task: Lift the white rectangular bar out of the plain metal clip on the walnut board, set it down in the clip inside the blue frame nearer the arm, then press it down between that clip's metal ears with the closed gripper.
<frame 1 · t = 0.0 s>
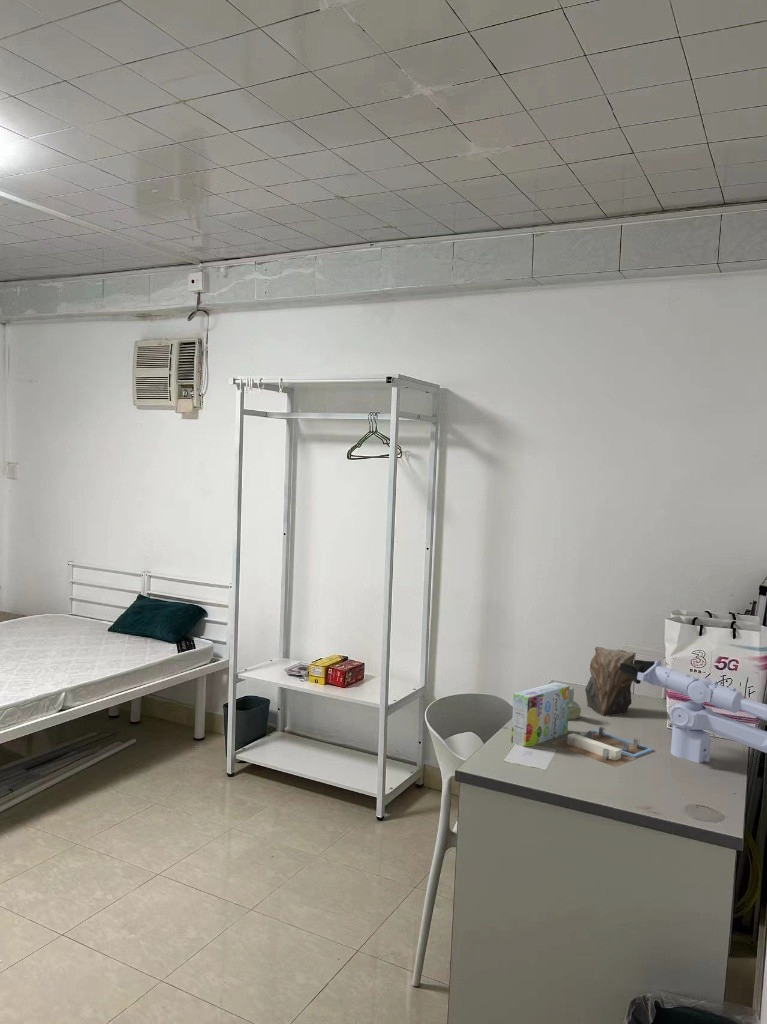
hand: (627, 664, 221), 22 cm above the table, tool horizontal, fingers open, 7 cm apart
blue bezel: (613, 742, 213), on the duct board, point 1 cm above the table
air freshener: (562, 719, 238), on the table
snack box: (539, 741, 215), on the table
brown rock: (605, 711, 249), on the table
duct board: (603, 750, 210), on the table
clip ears: (603, 742, 210), on the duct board, point 2 cm above the table
white rectangular bar: (593, 750, 206), point 1 cm above the table, touching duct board
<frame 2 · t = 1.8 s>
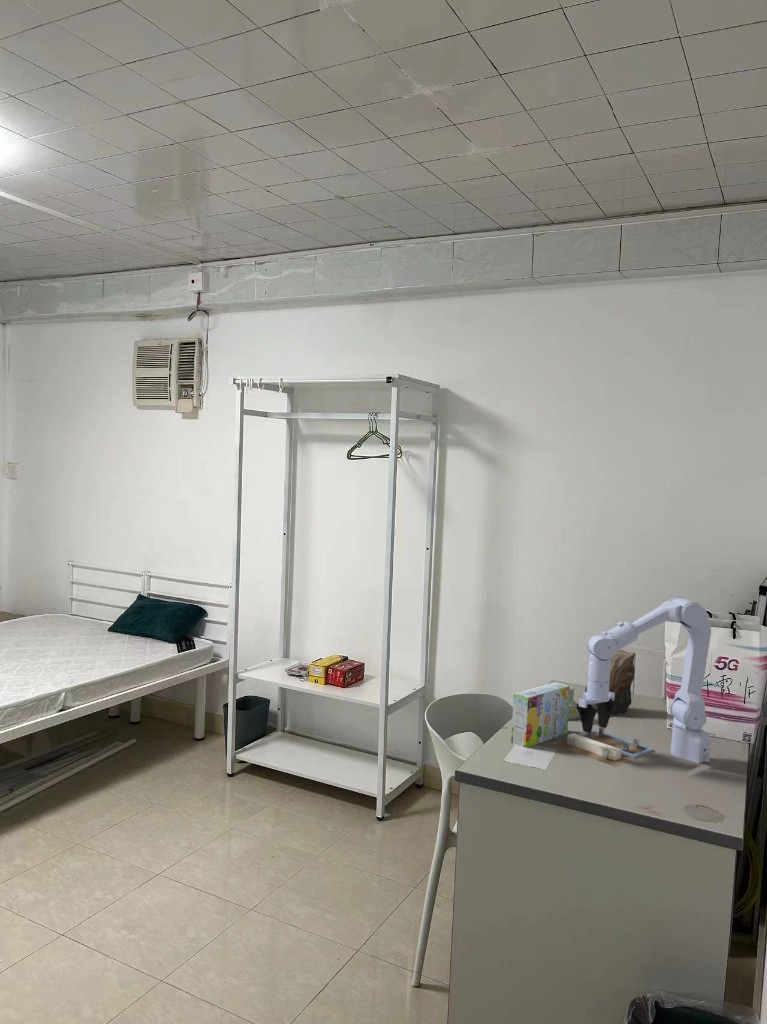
hand: (594, 729, 206), 7 cm above the table, tool pointing down, fingers open, 7 cm apart
nothing on the table moved.
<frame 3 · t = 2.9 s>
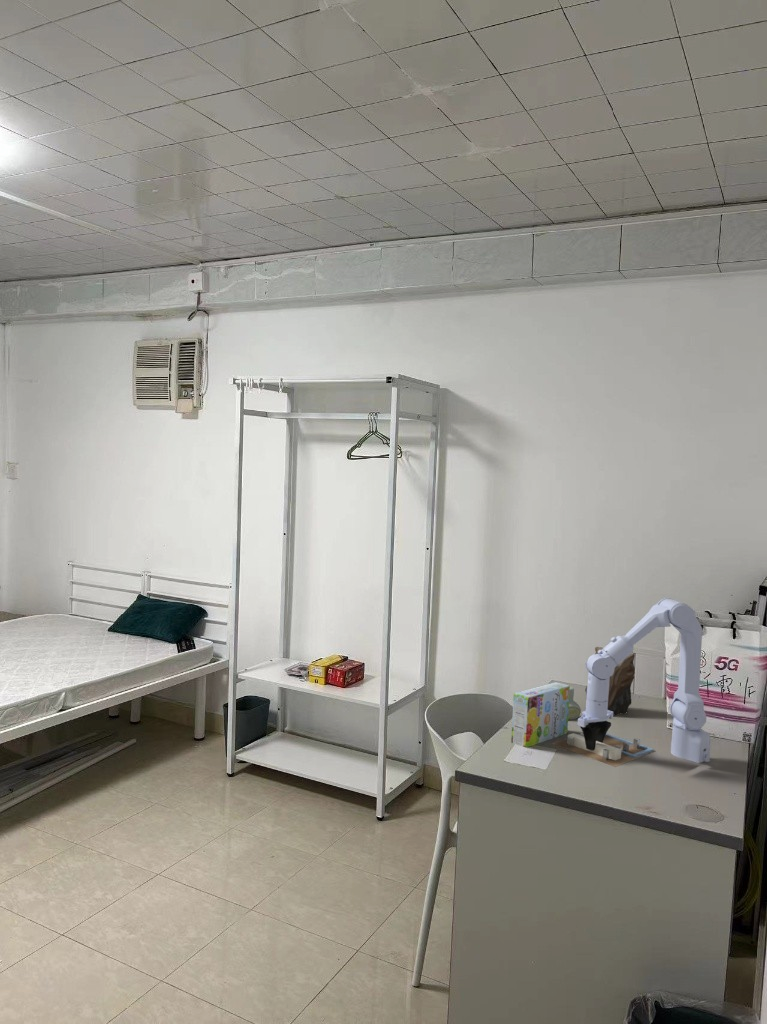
hand: (593, 748, 206), 2 cm above the table, tool pointing down, fingers closed on white rectangular bar, 3 cm apart
white rectangular bar: (593, 750, 206), point 1 cm above the table, touching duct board, gripper
everything else where it was.
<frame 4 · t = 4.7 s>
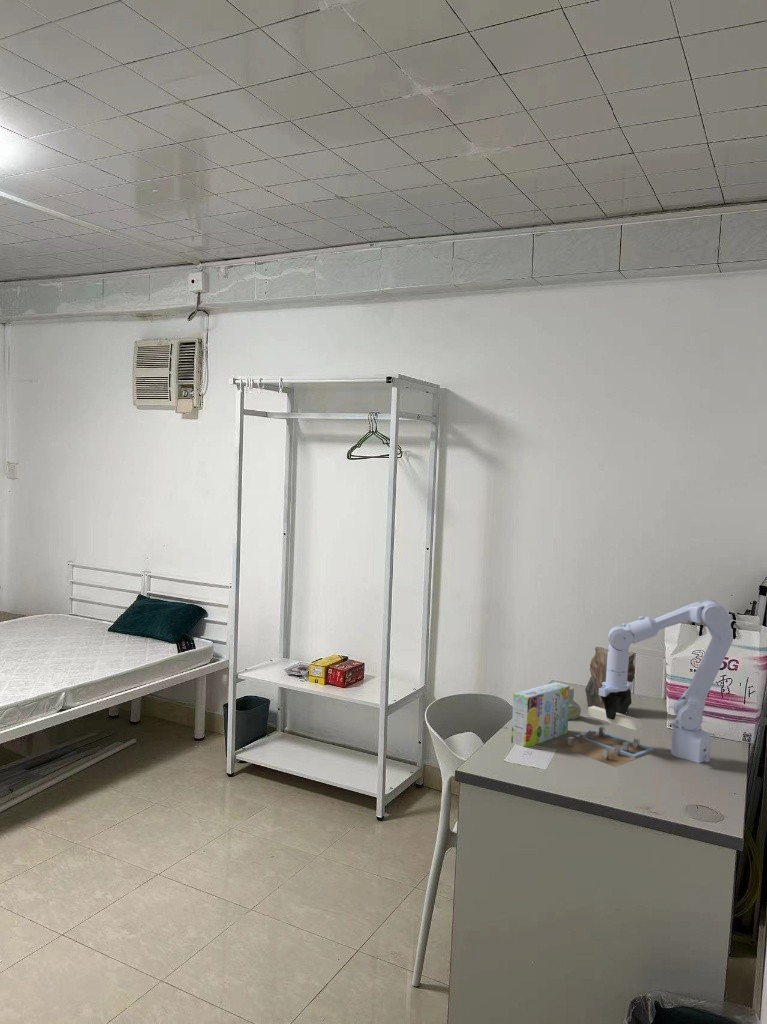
hand: (613, 717, 212), 9 cm above the table, tool pointing down, fingers closed on white rectangular bar, 3 cm apart
white rectangular bar: (613, 721, 212), point 7 cm above the table, touching gripper
everything else where it was.
when the fingers open (2 cm above the table, at t = 6.3 s): white rectangular bar stays where it is, resting on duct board.
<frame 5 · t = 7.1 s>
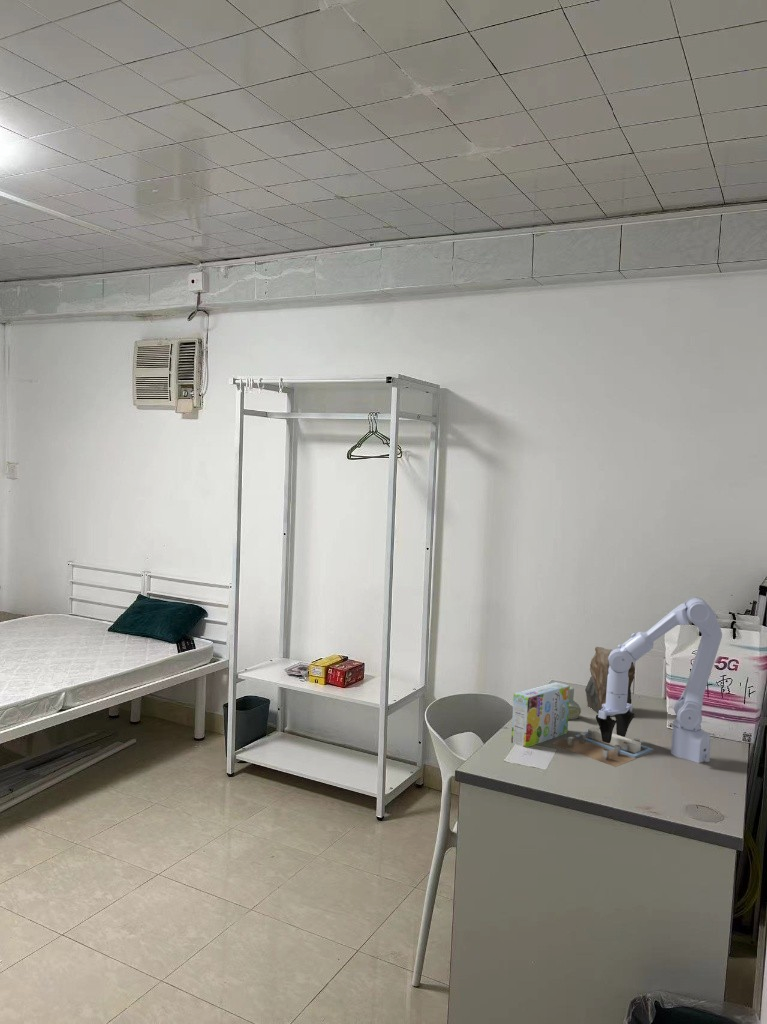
hand: (613, 739, 213), 2 cm above the table, tool pointing down, fingers open, 7 cm apart
white rectangular bar: (613, 743, 213), point 1 cm above the table, touching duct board
everything else where it was.
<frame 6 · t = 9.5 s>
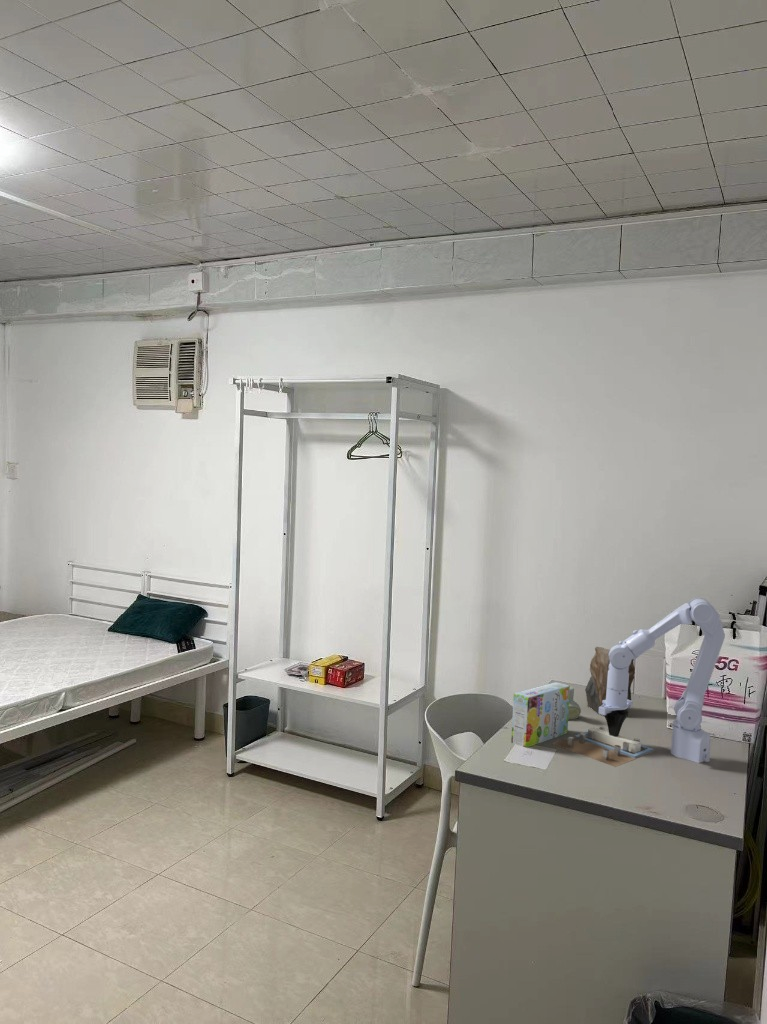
hand: (613, 735, 213), 3 cm above the table, tool pointing down, fingers closed, pressing on white rectangular bar
white rectangular bar: (613, 743, 213), point 1 cm above the table, touching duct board, gripper
everything else where it was.
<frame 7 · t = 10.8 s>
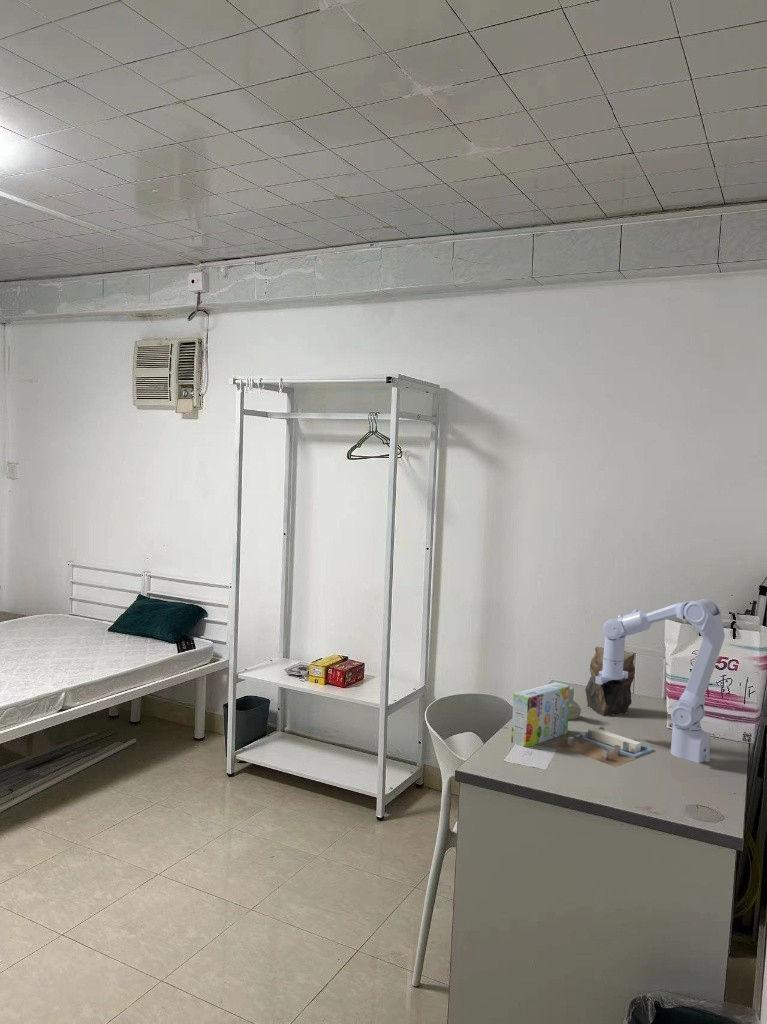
hand: (609, 705, 222), 9 cm above the table, tool pointing down, fingers closed
white rectangular bar: (613, 743, 213), point 1 cm above the table, touching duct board
everything else where it was.
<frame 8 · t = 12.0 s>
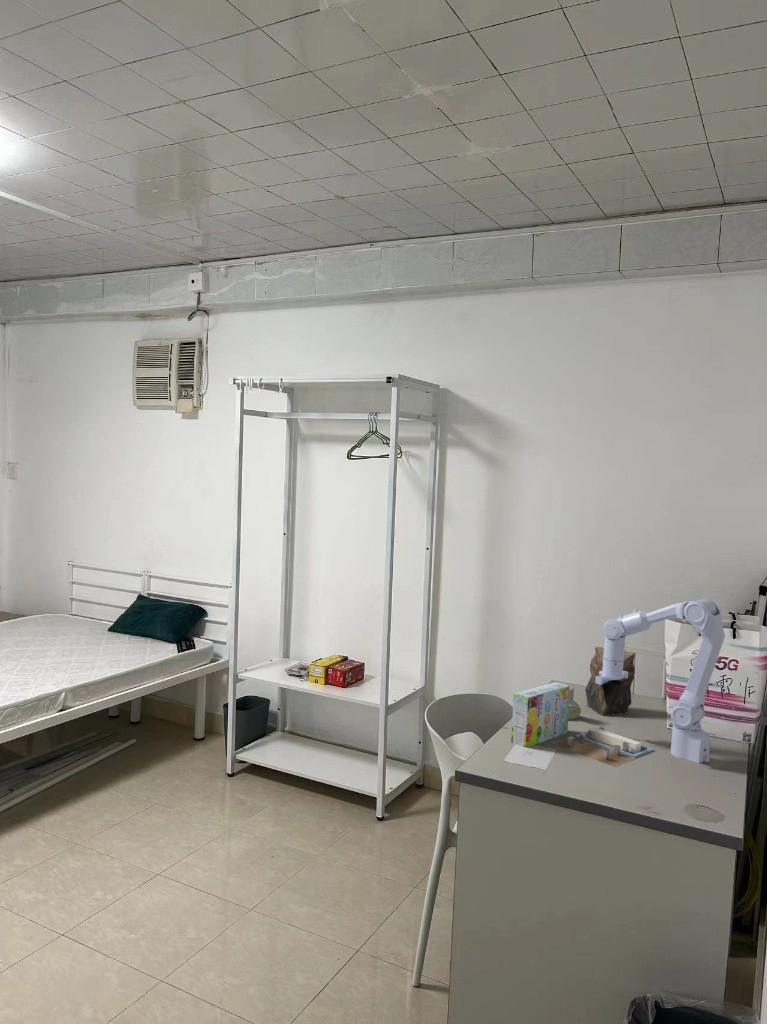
hand: (610, 705, 222), 9 cm above the table, tool pointing down, fingers closed
nothing on the table moved.
at the end: white rectangular bar 0.1 cm from the target spot on the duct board, point 1.0 cm above the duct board's base; the gripper is holding nothing; white rectangular bar tilted 0° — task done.
